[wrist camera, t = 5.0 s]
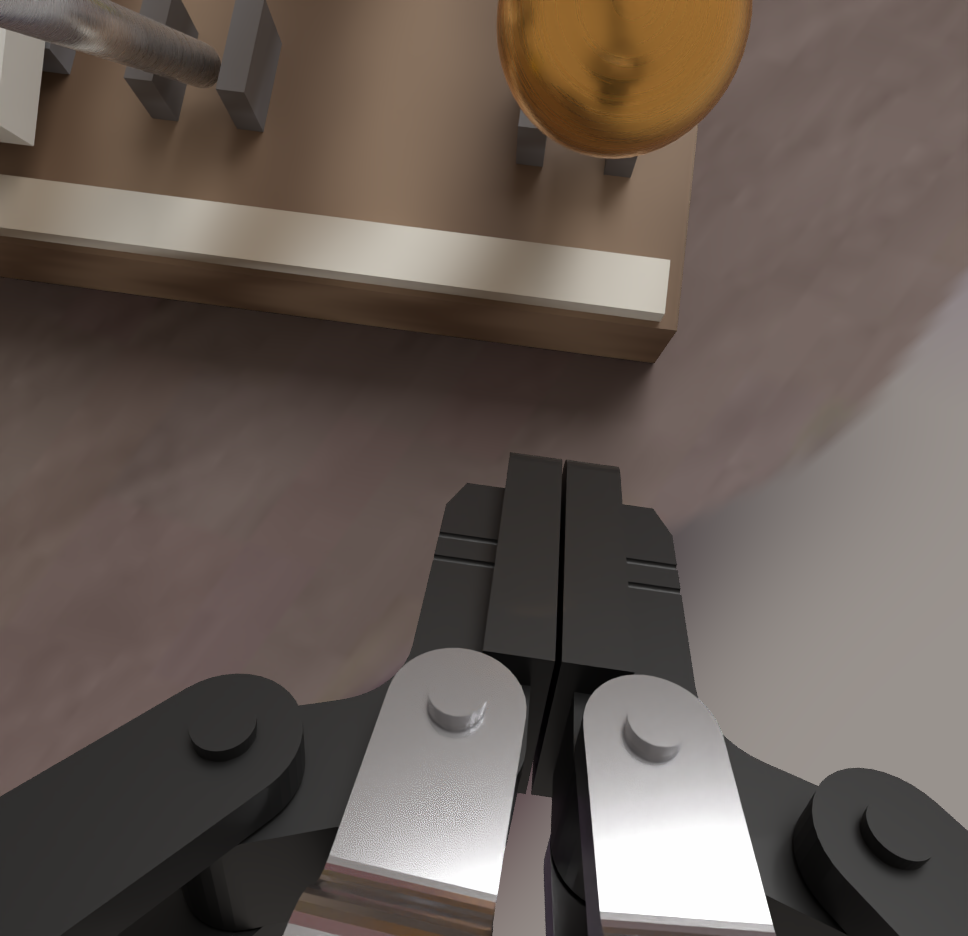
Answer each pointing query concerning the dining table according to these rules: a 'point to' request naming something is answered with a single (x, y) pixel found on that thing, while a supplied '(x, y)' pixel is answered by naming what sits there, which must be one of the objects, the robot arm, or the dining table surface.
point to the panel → (345, 183)
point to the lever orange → (619, 67)
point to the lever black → (115, 37)
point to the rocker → (19, 86)
